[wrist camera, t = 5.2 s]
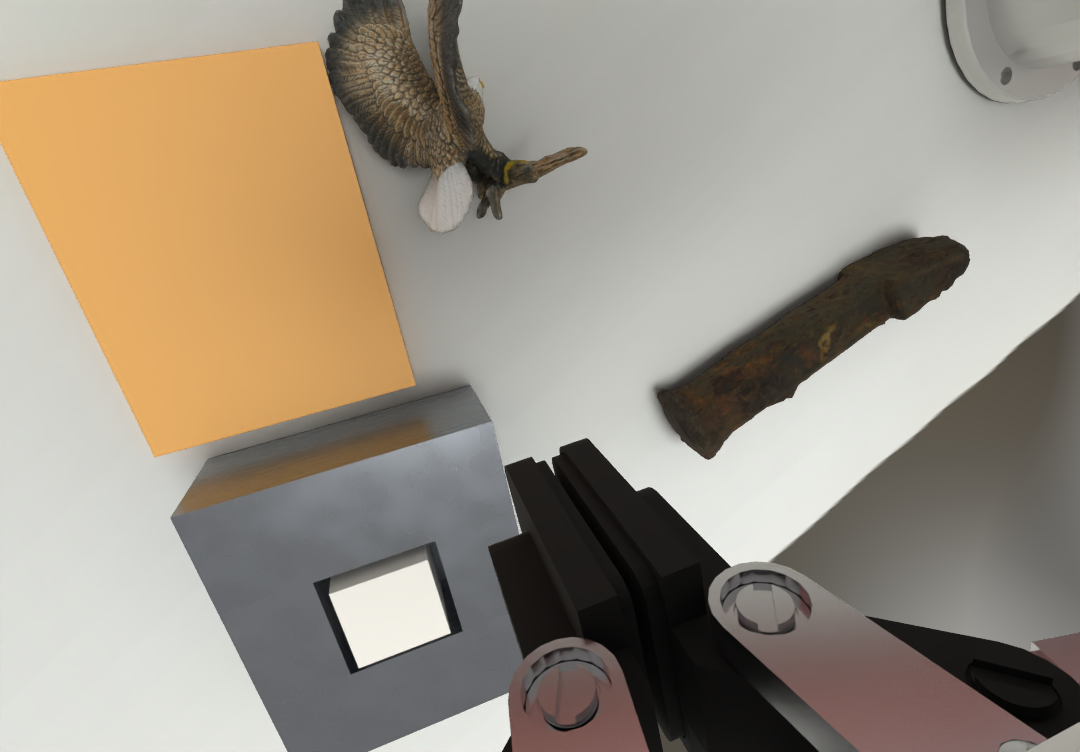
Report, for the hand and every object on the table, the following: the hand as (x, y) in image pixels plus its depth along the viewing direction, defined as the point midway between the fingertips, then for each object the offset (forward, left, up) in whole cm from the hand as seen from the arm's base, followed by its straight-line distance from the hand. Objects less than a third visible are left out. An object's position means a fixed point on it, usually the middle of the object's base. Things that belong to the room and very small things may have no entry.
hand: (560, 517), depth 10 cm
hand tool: (-19, +4, -17) cm, 26 cm away
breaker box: (+5, +10, -16) cm, 20 cm away
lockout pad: (+7, -5, -16) cm, 19 cm away
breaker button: (+5, +10, -15) cm, 19 cm away
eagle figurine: (-2, -10, -17) cm, 19 cm away
